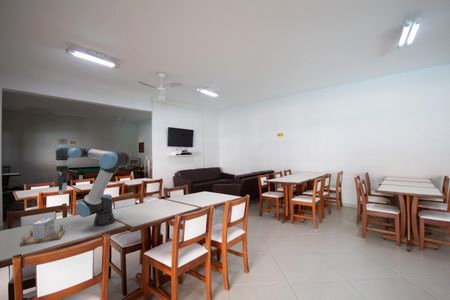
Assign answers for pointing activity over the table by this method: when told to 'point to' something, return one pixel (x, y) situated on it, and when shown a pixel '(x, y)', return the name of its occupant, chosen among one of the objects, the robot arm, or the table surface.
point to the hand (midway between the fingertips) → (62, 192)
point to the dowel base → (52, 237)
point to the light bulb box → (43, 228)
